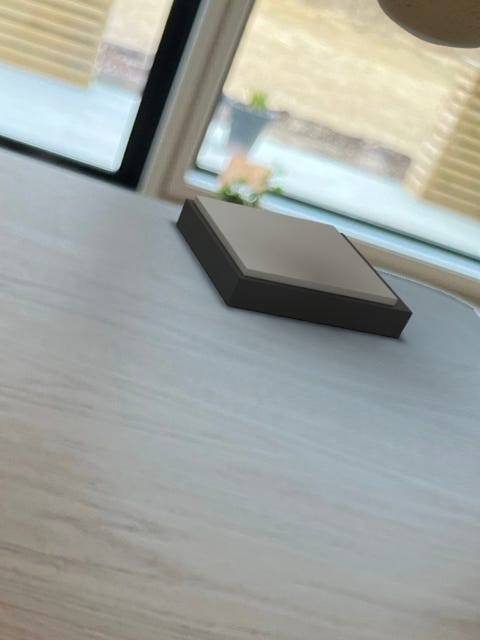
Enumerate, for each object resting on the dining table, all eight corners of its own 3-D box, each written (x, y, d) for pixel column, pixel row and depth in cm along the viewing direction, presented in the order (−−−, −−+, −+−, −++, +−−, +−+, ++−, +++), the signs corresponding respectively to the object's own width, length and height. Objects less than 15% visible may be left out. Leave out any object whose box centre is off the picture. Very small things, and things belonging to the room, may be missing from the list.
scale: (331, 257, 91) (346, 226, 89) (398, 338, 81) (417, 305, 80) (175, 224, 87) (188, 190, 85) (227, 305, 77) (243, 270, 75)
